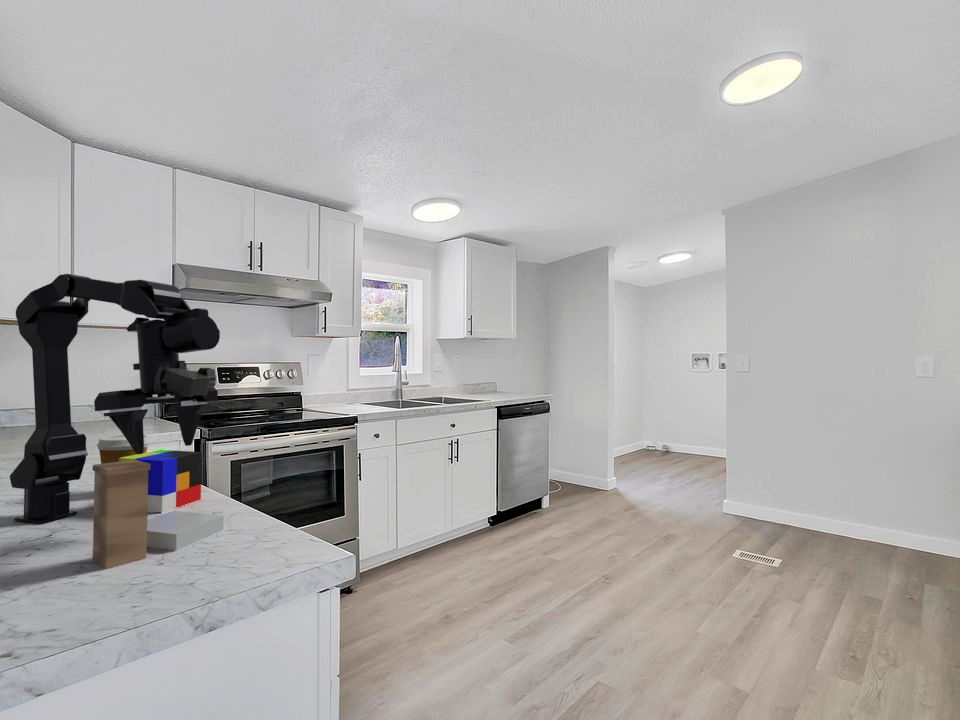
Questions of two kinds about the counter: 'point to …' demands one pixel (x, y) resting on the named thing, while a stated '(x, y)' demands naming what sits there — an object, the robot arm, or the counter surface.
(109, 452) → the disposable coffee cup
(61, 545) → the counter surface
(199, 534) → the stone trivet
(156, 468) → the puzzle toy
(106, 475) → the walnut canister
